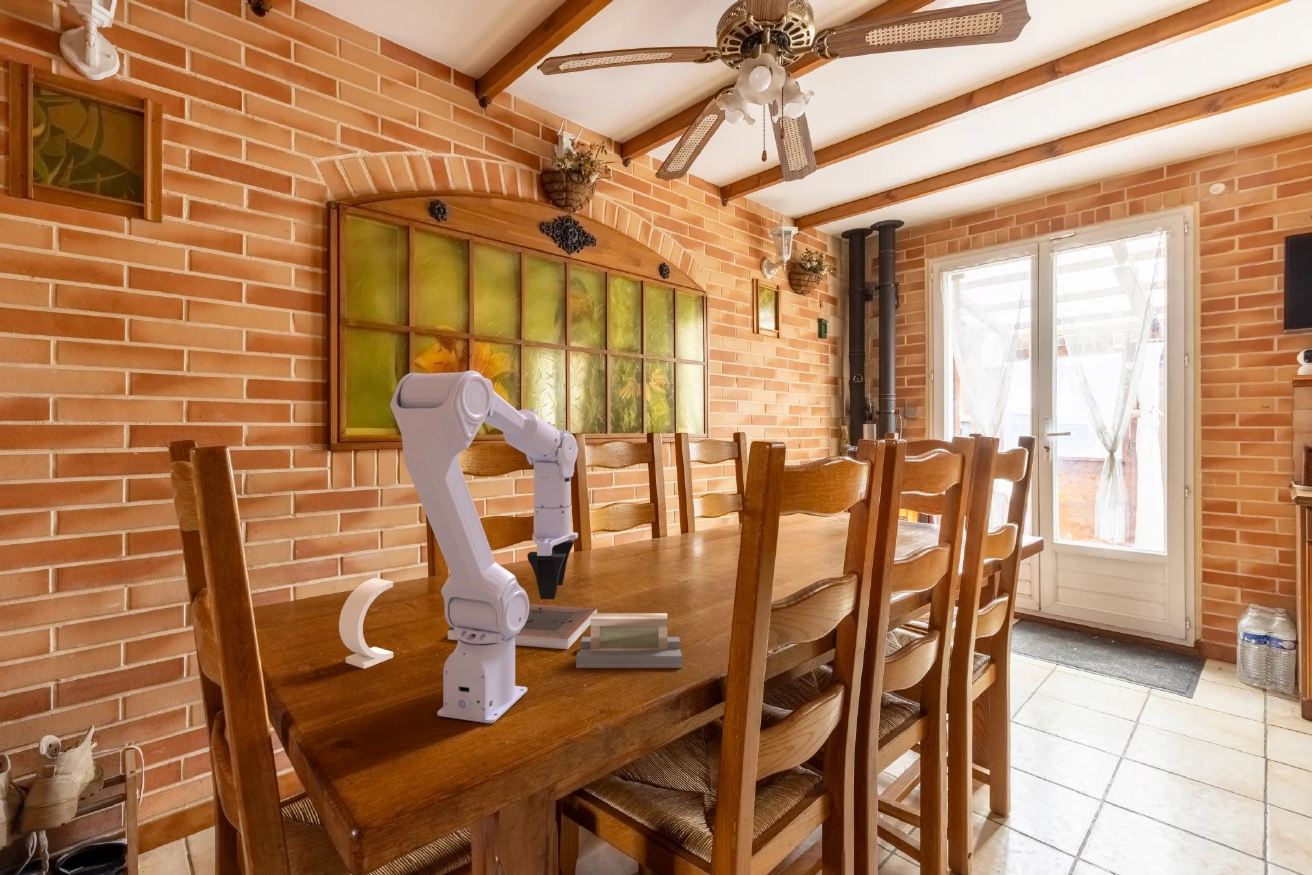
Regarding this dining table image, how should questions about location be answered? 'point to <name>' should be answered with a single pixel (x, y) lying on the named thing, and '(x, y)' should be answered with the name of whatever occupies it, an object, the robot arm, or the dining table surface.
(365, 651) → the headphone stand
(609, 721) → the dining table surface
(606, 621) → the frame
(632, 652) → the grooved channel
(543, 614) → the picture frame
